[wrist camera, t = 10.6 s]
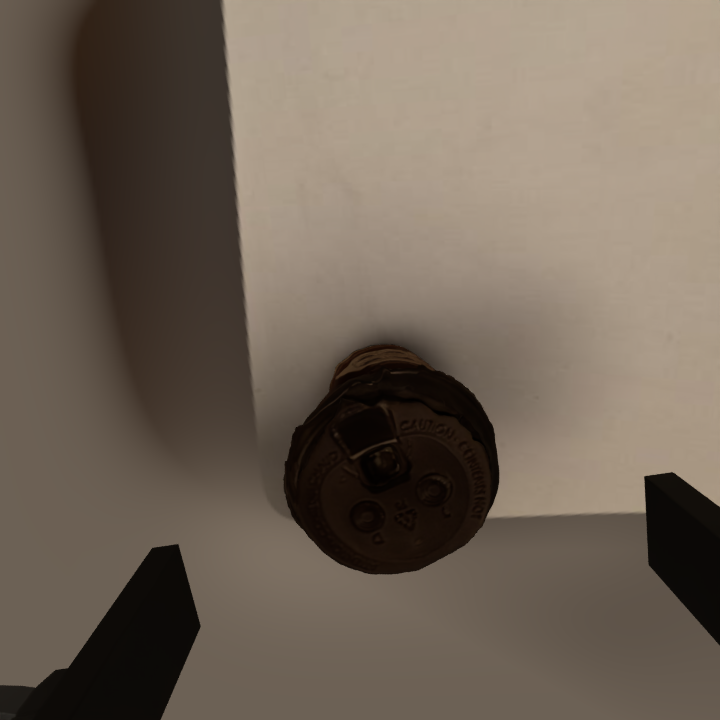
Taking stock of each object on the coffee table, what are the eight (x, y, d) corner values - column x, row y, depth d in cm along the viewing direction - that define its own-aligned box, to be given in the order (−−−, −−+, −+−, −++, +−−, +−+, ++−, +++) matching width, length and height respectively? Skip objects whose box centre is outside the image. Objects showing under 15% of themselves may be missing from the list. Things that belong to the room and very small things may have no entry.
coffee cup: (333, 303, 30) (311, 345, 17) (470, 339, 30) (548, 406, 17) (298, 440, 32) (256, 570, 19) (428, 472, 32) (472, 621, 19)
